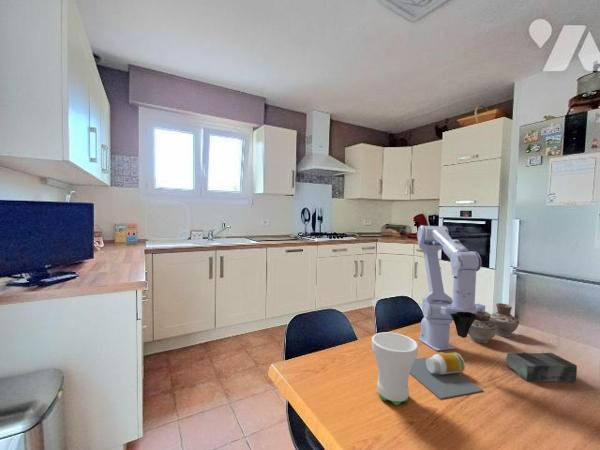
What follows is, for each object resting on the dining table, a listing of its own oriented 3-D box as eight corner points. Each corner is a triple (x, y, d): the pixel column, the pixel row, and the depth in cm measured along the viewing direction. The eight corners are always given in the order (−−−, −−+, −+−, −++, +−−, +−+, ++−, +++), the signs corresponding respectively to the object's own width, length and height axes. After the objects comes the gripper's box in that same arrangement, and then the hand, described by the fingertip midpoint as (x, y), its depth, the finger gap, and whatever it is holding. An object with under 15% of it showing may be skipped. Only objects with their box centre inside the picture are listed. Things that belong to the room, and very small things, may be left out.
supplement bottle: (457, 348, 82) (428, 351, 80) (468, 366, 78) (439, 369, 76) (449, 358, 85) (421, 361, 83) (460, 375, 81) (431, 379, 79)
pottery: (525, 338, 107) (526, 308, 107) (485, 349, 97) (486, 316, 96) (494, 327, 117) (496, 299, 117) (455, 336, 107) (456, 306, 107)
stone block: (503, 365, 87) (503, 349, 87) (548, 366, 87) (549, 350, 87) (526, 382, 78) (527, 364, 78) (577, 383, 78) (577, 365, 78)
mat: (396, 362, 86) (396, 361, 86) (433, 357, 90) (433, 356, 90) (439, 399, 69) (439, 398, 69) (483, 391, 73) (483, 390, 73)
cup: (411, 418, 62) (413, 356, 62) (363, 400, 68) (365, 343, 68) (419, 392, 72) (421, 338, 71) (377, 378, 78) (378, 328, 77)
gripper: (454, 296, 77) (452, 344, 77) (495, 294, 80) (493, 339, 81) (436, 289, 83) (434, 333, 84) (474, 287, 87) (472, 330, 87)
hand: (461, 336), depth 83 cm, fingers closed
